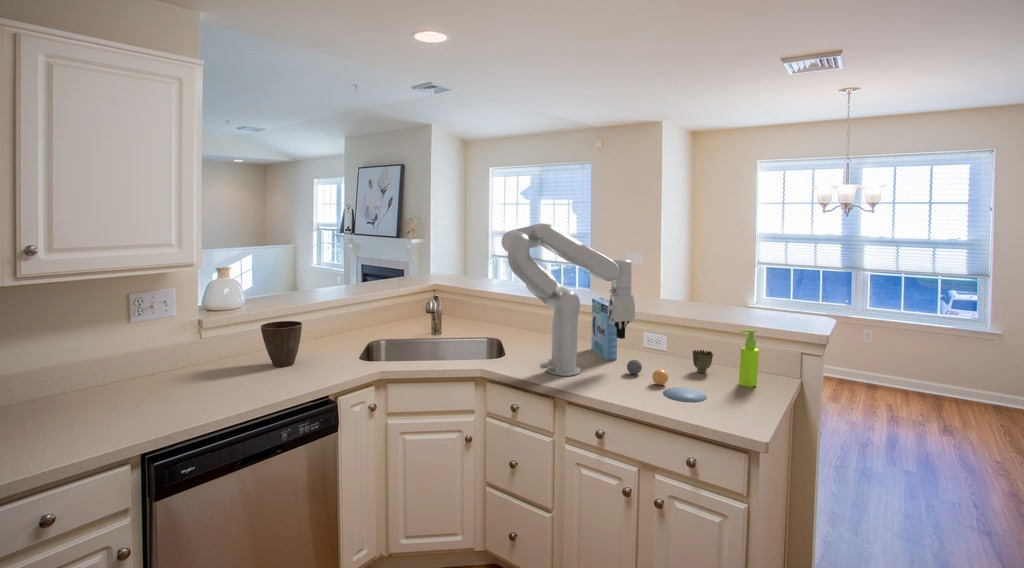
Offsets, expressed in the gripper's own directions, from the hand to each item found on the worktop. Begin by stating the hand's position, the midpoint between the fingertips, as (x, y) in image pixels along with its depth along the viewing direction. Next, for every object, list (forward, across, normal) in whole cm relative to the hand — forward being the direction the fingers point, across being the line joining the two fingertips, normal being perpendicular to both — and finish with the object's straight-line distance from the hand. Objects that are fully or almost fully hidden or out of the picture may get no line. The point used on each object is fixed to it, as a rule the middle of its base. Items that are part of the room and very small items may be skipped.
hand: (620, 337), depth 217 cm
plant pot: (+9, -117, +61) cm, 132 cm away
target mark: (+12, -1, -35) cm, 37 cm away
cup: (+13, +24, -19) cm, 33 cm away
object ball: (+9, -1, -23) cm, 25 cm away
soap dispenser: (+13, +27, -37) cm, 48 cm away
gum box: (+12, +6, +19) cm, 23 cm away
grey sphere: (+9, -1, -9) cm, 13 cm away
